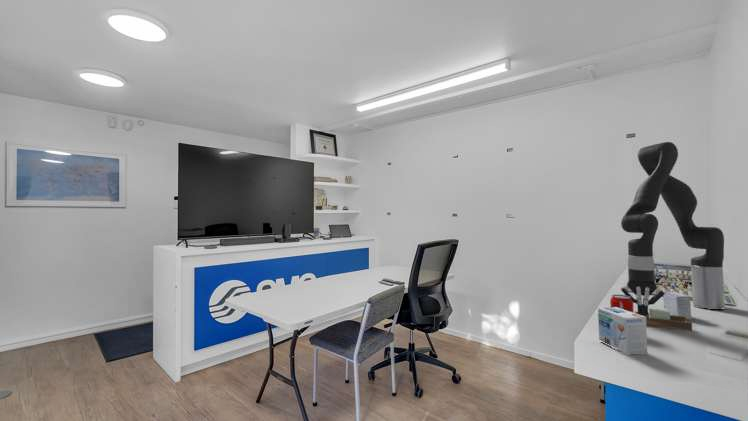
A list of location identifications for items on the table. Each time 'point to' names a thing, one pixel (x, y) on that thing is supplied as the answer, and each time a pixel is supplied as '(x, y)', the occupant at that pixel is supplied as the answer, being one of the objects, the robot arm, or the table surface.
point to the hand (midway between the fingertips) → (642, 314)
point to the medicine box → (677, 304)
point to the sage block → (659, 313)
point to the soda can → (622, 302)
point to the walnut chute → (669, 322)
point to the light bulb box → (623, 330)
